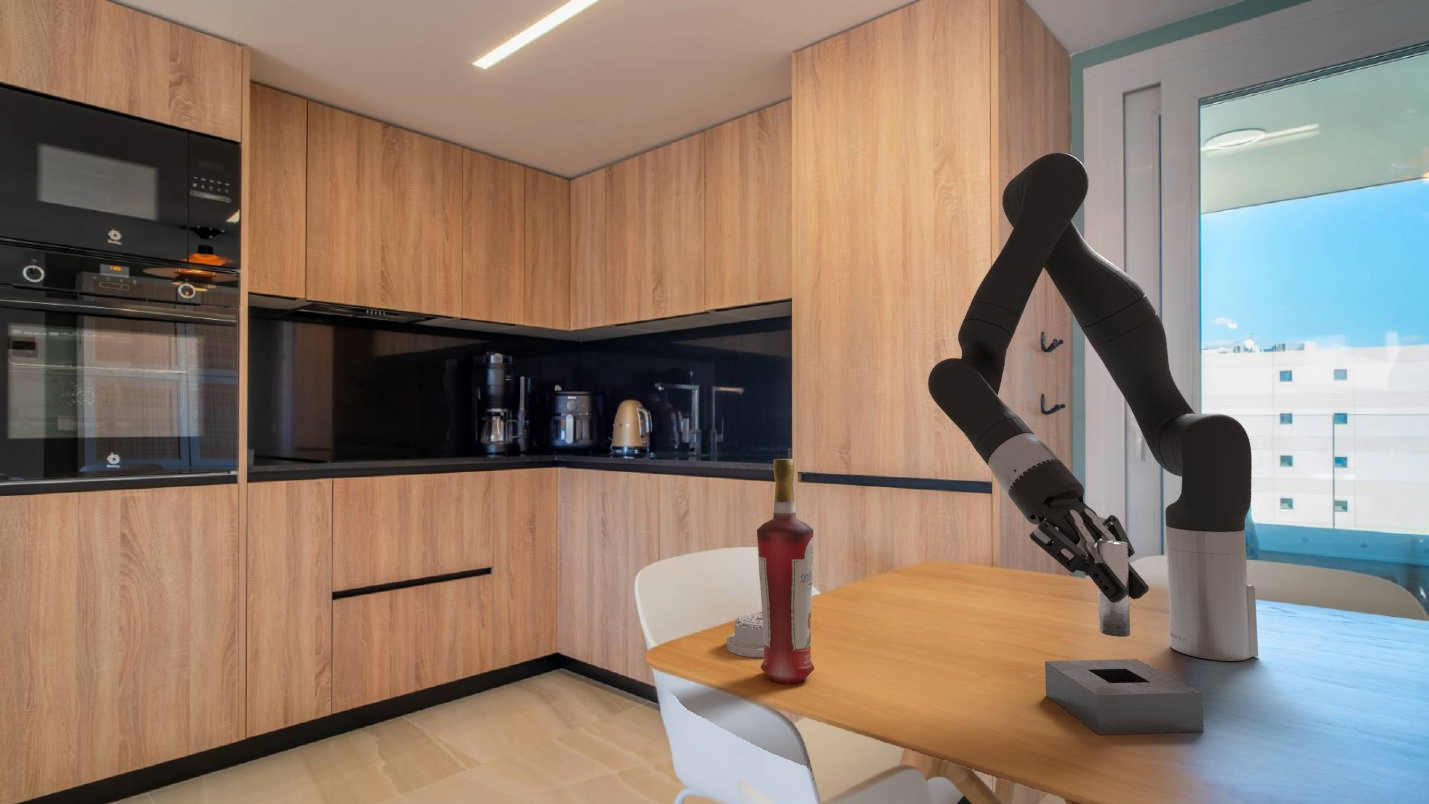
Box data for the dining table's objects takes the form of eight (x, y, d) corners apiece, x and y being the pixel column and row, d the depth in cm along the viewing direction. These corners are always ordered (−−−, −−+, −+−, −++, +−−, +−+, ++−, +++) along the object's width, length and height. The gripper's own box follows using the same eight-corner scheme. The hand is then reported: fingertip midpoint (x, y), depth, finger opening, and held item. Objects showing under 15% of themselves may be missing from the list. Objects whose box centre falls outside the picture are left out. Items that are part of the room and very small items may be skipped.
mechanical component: (720, 658, 101) (791, 661, 99) (720, 626, 101) (790, 629, 99) (733, 638, 111) (797, 640, 109) (732, 609, 111) (796, 611, 109)
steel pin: (1119, 629, 81) (1117, 540, 82) (1136, 636, 78) (1133, 544, 79) (1093, 629, 81) (1091, 540, 81) (1109, 637, 78) (1106, 544, 78)
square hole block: (1137, 693, 85) (1136, 658, 85) (1203, 731, 74) (1201, 692, 74) (1046, 695, 84) (1044, 661, 85) (1098, 734, 73) (1097, 695, 74)
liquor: (768, 665, 97) (764, 458, 98) (821, 671, 94) (817, 458, 95) (751, 683, 90) (748, 460, 91) (808, 690, 87) (804, 460, 89)
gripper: (1011, 458, 84) (1113, 583, 72) (1089, 456, 90) (1194, 570, 79) (976, 500, 88) (1067, 623, 77) (1054, 495, 95) (1148, 608, 83)
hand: (1131, 596), depth 78 cm, fingers closed on steel pin, 3 cm apart
